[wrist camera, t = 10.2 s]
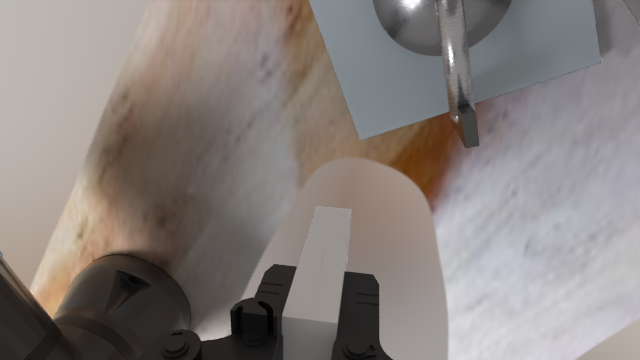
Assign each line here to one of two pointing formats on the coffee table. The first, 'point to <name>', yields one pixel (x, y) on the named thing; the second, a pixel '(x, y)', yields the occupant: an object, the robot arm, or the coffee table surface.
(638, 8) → the perfume bottle
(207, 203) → the coffee table surface
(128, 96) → the coffee table surface
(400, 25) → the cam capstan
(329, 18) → the stand
